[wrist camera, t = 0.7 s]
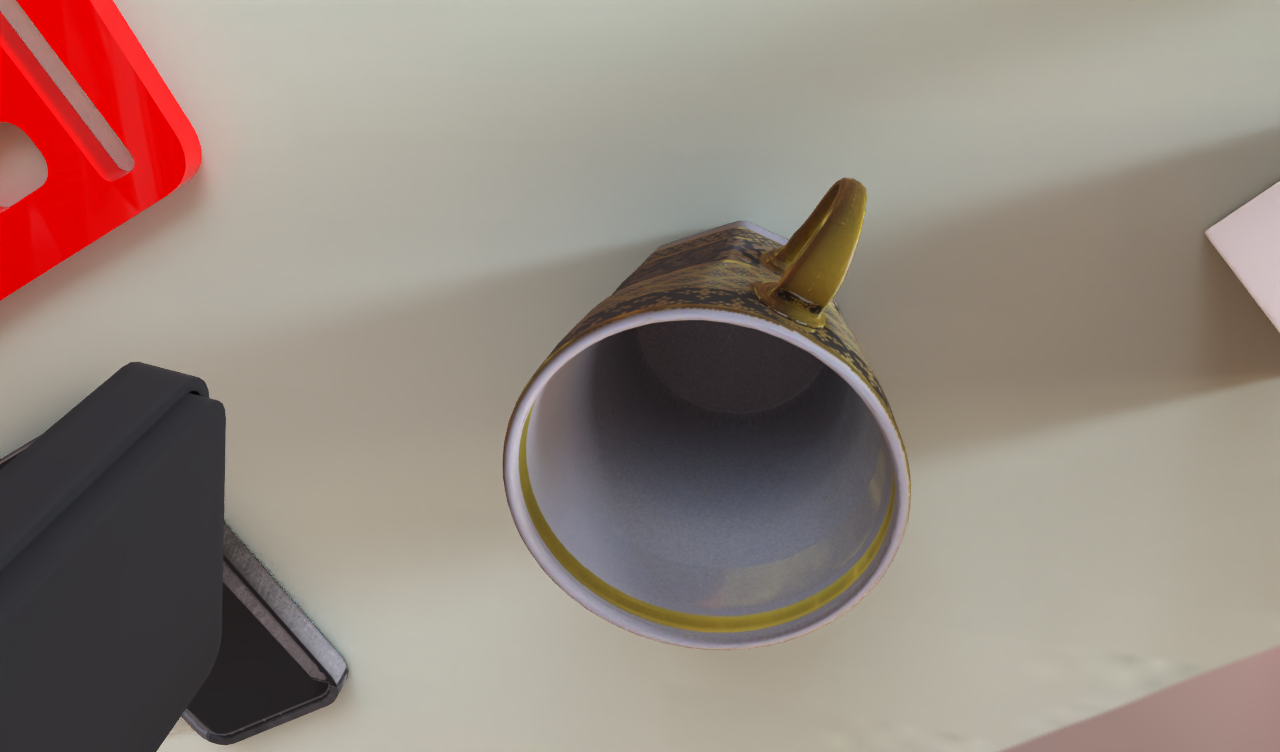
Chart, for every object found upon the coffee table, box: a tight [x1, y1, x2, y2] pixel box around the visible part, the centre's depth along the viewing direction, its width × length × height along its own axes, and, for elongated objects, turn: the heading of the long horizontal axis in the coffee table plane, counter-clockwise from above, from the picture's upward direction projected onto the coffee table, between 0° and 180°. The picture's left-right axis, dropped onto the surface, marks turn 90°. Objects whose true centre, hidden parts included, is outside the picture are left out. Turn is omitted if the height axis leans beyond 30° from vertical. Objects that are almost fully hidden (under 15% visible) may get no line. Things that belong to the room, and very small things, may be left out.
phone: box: [0, 435, 348, 745], centre depth 45 cm, size 8×1×15 cm
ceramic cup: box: [503, 178, 911, 650], centre depth 31 cm, size 13×10×10 cm
